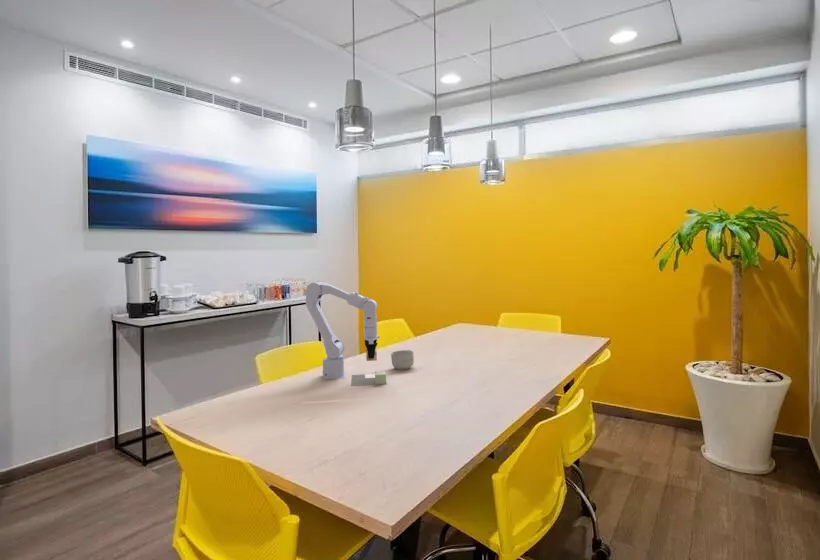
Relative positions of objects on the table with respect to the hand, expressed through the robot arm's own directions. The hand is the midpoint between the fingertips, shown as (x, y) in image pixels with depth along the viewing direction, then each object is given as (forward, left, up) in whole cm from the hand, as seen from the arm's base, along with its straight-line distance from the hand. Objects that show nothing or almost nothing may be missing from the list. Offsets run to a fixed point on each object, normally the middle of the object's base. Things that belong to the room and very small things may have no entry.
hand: (371, 356), depth 211 cm
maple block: (0, 0, -1) cm, 1 cm away
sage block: (+3, -10, -9) cm, 14 cm away
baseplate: (-2, -5, -9) cm, 11 cm away
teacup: (+16, +14, -10) cm, 23 cm away
